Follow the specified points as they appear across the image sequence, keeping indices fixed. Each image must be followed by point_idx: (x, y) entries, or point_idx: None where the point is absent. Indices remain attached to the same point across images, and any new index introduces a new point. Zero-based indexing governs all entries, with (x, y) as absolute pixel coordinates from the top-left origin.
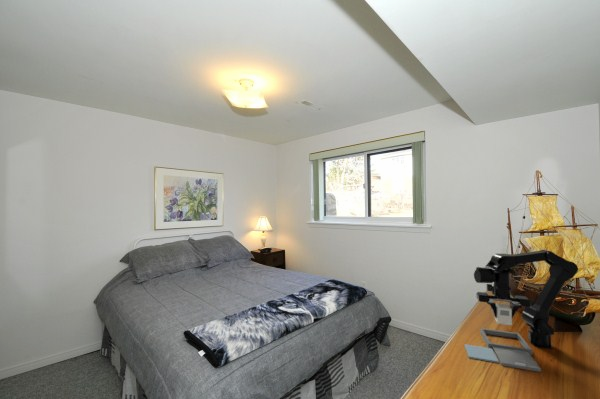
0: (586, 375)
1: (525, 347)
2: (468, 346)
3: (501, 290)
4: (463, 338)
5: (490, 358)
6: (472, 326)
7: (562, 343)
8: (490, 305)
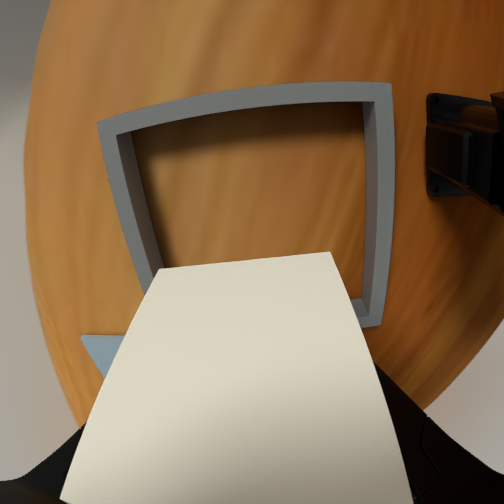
0: (468, 352)
1: (367, 266)
2: (99, 352)
3: None
4: (56, 260)
5: None
6: (75, 37)
7: None
8: (49, 478)
